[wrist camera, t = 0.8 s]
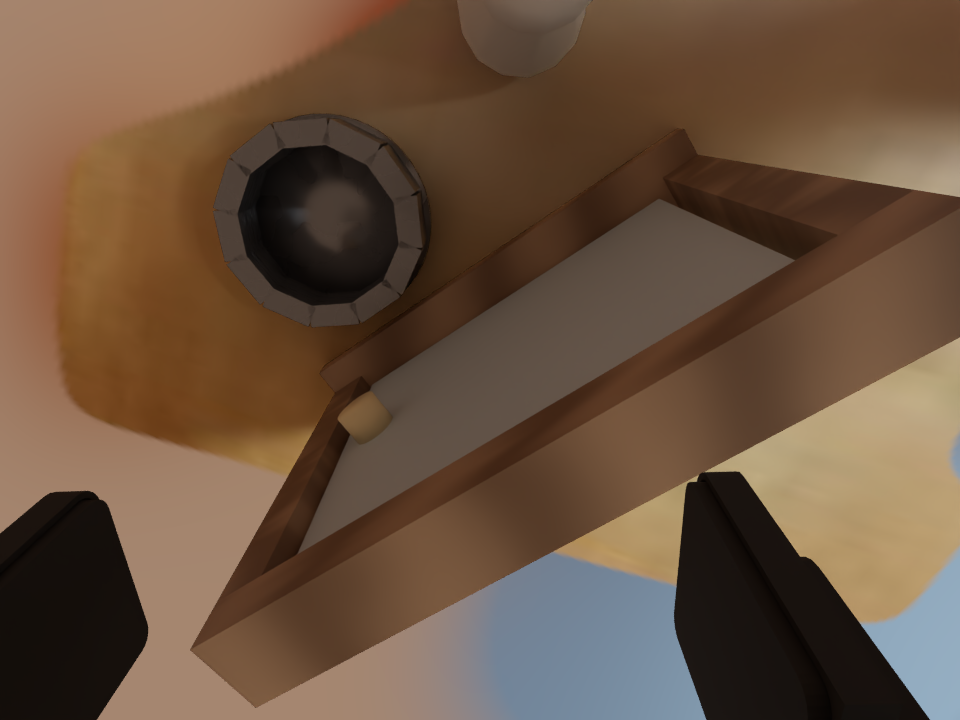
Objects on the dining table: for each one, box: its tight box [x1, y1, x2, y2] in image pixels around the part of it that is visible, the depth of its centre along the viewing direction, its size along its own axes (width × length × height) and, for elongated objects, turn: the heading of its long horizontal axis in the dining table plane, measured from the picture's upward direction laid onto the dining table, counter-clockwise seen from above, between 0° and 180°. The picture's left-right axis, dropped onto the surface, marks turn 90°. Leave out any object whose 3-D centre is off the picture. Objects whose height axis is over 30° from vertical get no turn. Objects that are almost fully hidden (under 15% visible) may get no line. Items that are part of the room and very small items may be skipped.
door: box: [298, 199, 795, 554], centre depth 26 cm, size 19×3×16 cm, turn 124°
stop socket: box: [213, 114, 431, 327], centre depth 32 cm, size 11×11×3 cm
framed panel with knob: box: [190, 129, 960, 708], centre depth 26 cm, size 24×6×20 cm, turn 124°
